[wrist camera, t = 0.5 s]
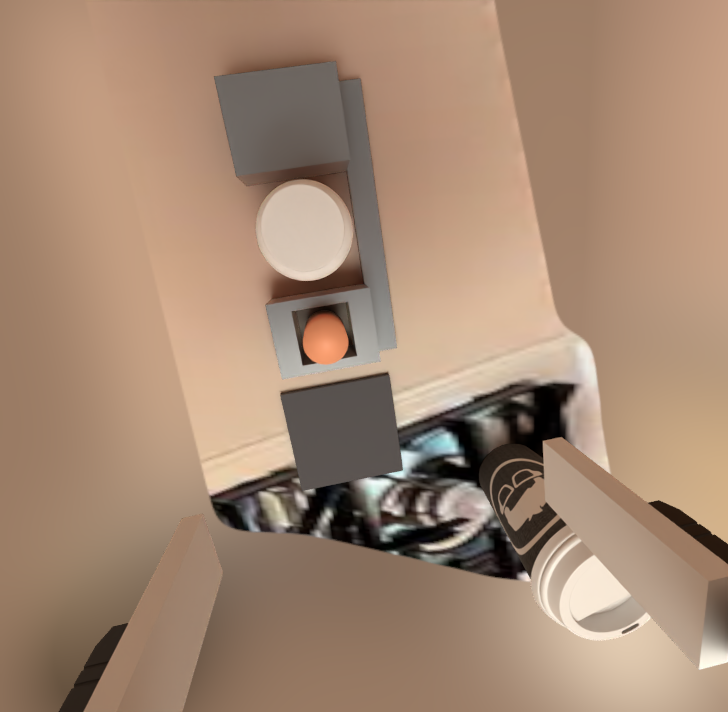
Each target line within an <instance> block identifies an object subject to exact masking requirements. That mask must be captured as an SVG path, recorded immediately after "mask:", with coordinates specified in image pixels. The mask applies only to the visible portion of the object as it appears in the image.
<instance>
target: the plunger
mask: <svg viewBox="0 0 728 712" xmlns="http://www.w3.org/2000/svg"><path fill="white" fill-rule="evenodd" d="M303 348H304V351H305V353H306V354H307V356H308V357H309V358H310V359H311V360H312V361H314V362H316V363H319V364H324V365H328V364H333V363H335V362H337V361H339V360H340V359H341V358H342V357H343V356H344V355H345V353H346V351H347V348H348V336H347V333H346V331H345V328H344V325H343V322H342V320H341V319H340V317H339V316H338V315H337V314H335V313H334V312H331V311H327V310H322V311H318V312H315V313H314V314H312V315H311V316H310V317H309V319H308V320H307V322H306V326H305V331H304V337H303Z"/></svg>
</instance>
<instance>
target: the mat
mask: <svg viewBox="0 0 728 712" xmlns="http://www.w3.org/2000/svg"><path fill="white" fill-rule="evenodd" d="M280 396H281V400H282V405H283V409H284V413H285V418H286V422H287V427H288V431H289V435H290V440H291V444H292V448H293V453H294V457H295V461H296V466H297V470H298V475H299V479H300V483H301V488H302V491H304V490H308V489H313V488H318V487H323V486H328V485H333V484H338V483H343V482H348V481H353V480H358V479H363V478H367V477H372V476H377V475H382V474H387V473H392V472H397V471H402V470H403V467H402V460H401V453H400V446H399V440H398V433H397V426H396V419H395V412H394V405H393V398H392V391H391V384H390V377H389V374H383V375H378V376H372V377H367V378H362V379H356V380H351V381H345V382H340V383H335V384H329V385H324V386H318V387H313V388H308V389H302V390H297V391H291V392H286V393H281V395H280Z"/></svg>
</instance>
